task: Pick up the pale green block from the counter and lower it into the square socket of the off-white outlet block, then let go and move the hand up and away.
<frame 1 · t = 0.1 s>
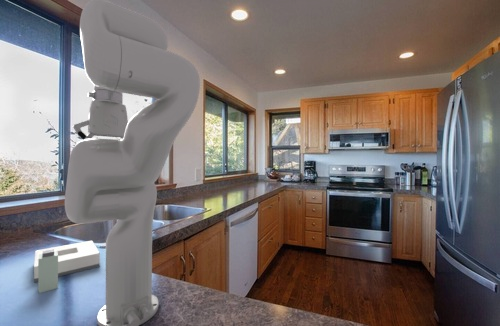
hand: (108, 155, 72), 37 cm above the countertop, tool pointing down, fingers open, 9 cm apart
pale green block: (48, 287, 65), on the countertop
outlet block: (67, 265, 79), on the countertop
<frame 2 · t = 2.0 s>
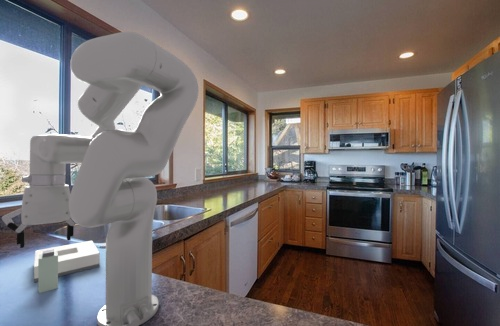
hand: (46, 242, 65), 12 cm above the countertop, tool pointing down, fingers open, 9 cm apart
nothing on the countertop moved.
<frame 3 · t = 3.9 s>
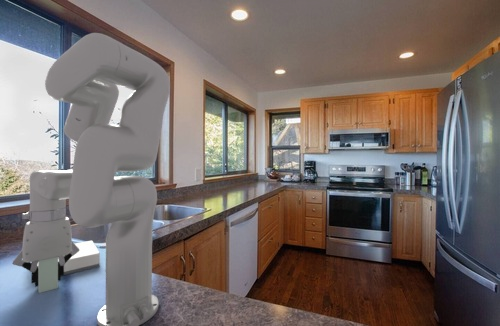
hand: (48, 281, 65), 2 cm above the countertop, tool pointing down, fingers closed on pale green block, 4 cm apart
pale green block: (48, 287, 65), on the countertop, touching gripper
everything else where it was.
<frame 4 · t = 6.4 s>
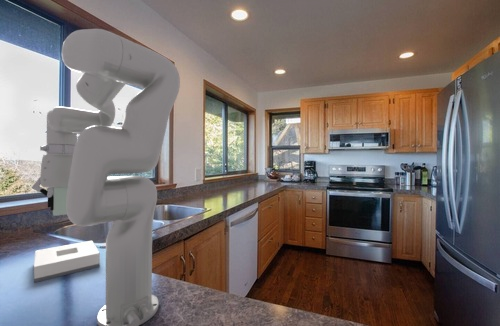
hand: (61, 208, 75), 20 cm above the countertop, tool pointing down, fingers closed on pale green block, 4 cm apart
pale green block: (61, 213, 75), point 18 cm above the countertop, touching gripper
everything else where it was.
when the fingers open (5 cm above the countertop, at t = 9.1 s): pale green block drops 2 cm, resting on outlet block.
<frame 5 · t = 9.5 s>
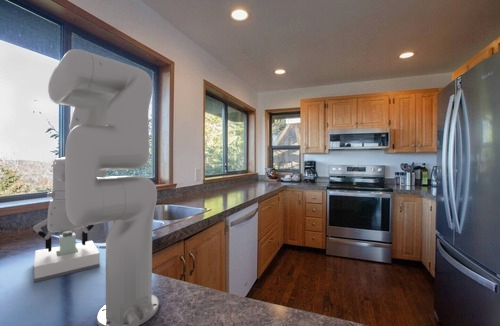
hand: (67, 247, 79), 6 cm above the countertop, tool pointing down, fingers open, 8 cm apart
pale green block: (67, 262, 79), point 1 cm above the countertop, touching outlet block
everything else where it was.
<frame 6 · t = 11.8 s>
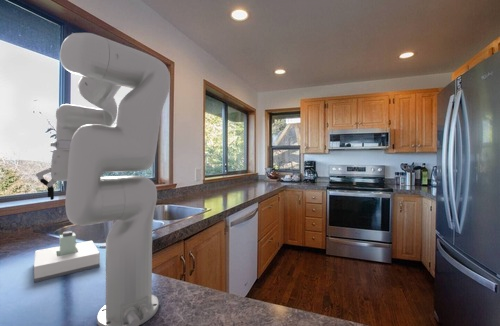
hand: (70, 197, 79), 22 cm above the countertop, tool pointing down, fingers open, 9 cm apart
nothing on the countertop moved.
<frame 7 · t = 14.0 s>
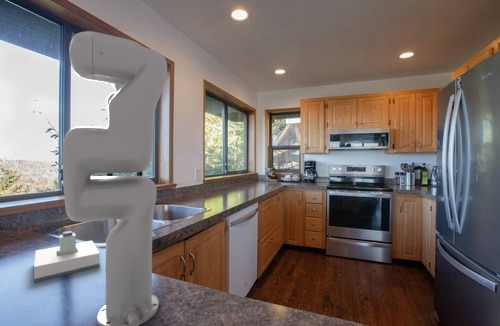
hand: (125, 178, 88), 28 cm above the countertop, tool pointing down, fingers open, 9 cm apart
nothing on the countertop moved.
at the end: pale green block 0.1 cm off-centre on the outlet block, point 1.0 cm above the outlet block's base; pale green block tilted 0°; the gripper is holding nothing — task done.
